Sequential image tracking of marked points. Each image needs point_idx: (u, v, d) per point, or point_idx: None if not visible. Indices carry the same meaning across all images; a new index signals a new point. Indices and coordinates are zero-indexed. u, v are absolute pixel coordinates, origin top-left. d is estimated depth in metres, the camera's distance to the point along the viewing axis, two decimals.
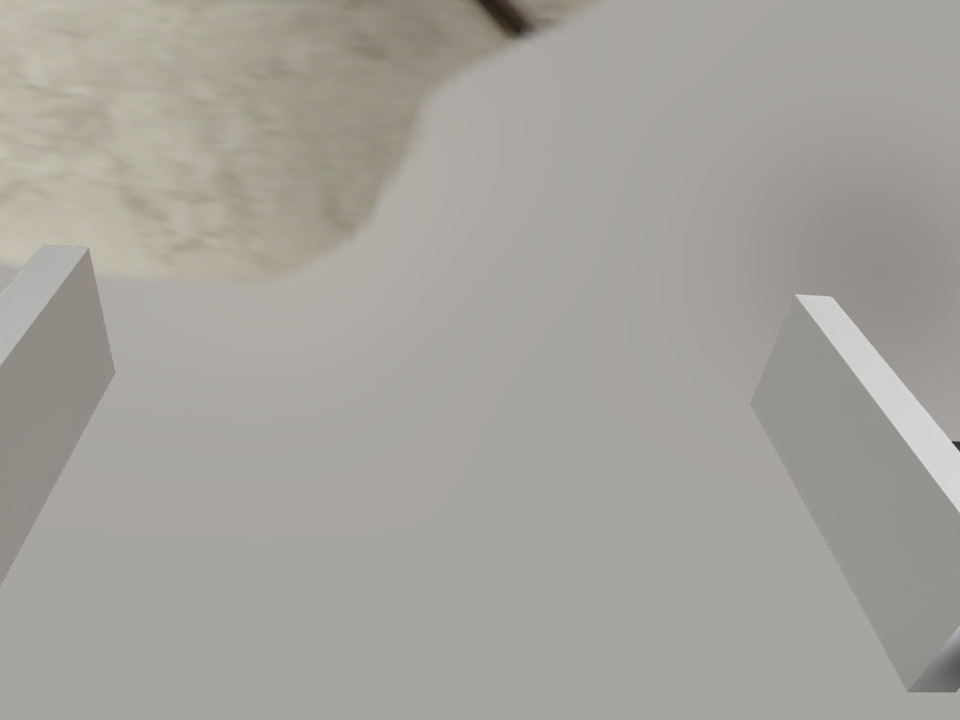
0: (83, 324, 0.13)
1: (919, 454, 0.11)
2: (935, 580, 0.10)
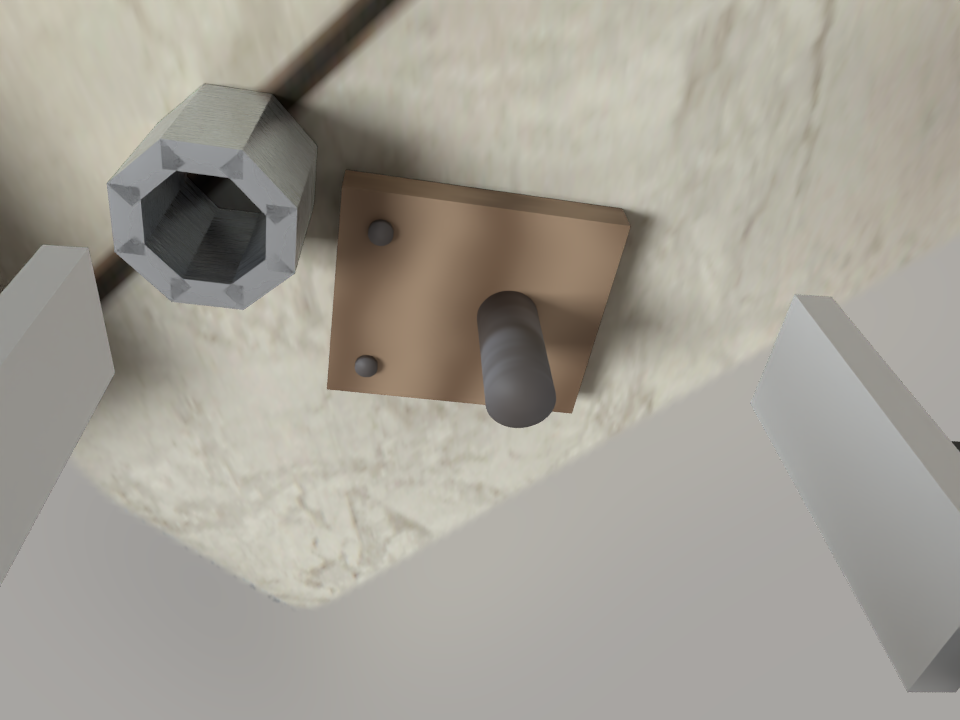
0: (83, 324, 0.13)
1: (919, 454, 0.11)
2: (935, 580, 0.10)
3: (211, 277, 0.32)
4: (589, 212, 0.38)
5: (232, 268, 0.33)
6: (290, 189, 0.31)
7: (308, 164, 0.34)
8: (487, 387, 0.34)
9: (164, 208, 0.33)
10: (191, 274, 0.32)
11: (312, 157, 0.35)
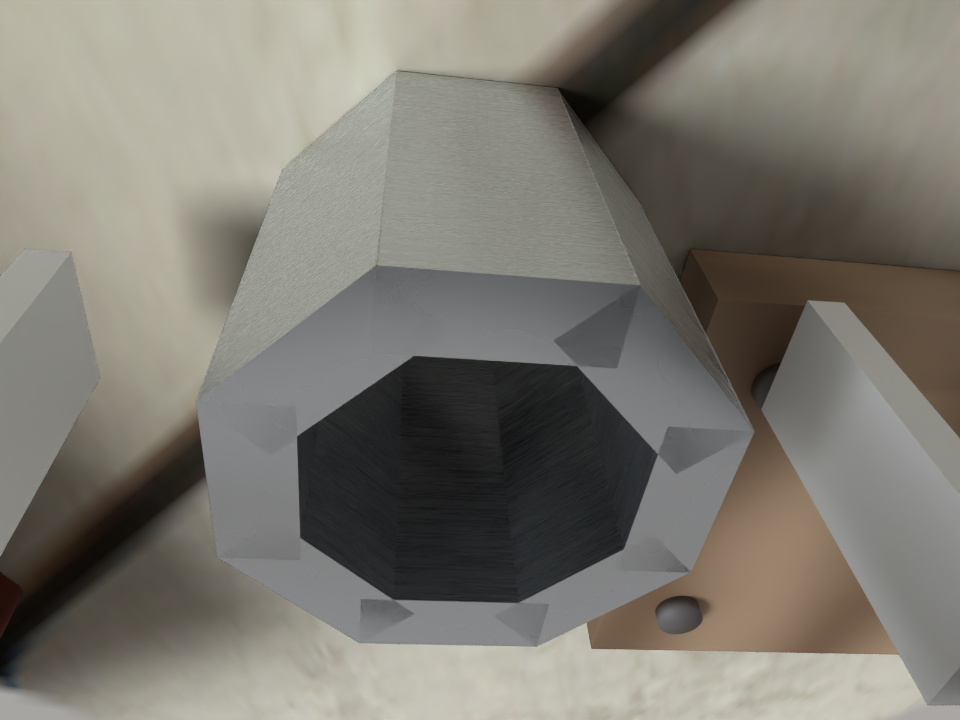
0: (66, 329, 0.13)
1: (939, 464, 0.11)
2: (956, 592, 0.10)
3: (462, 584, 0.12)
4: None
5: (499, 536, 0.13)
6: (715, 367, 0.11)
7: (667, 261, 0.14)
8: None
9: None
10: (411, 577, 0.12)
11: (655, 236, 0.14)
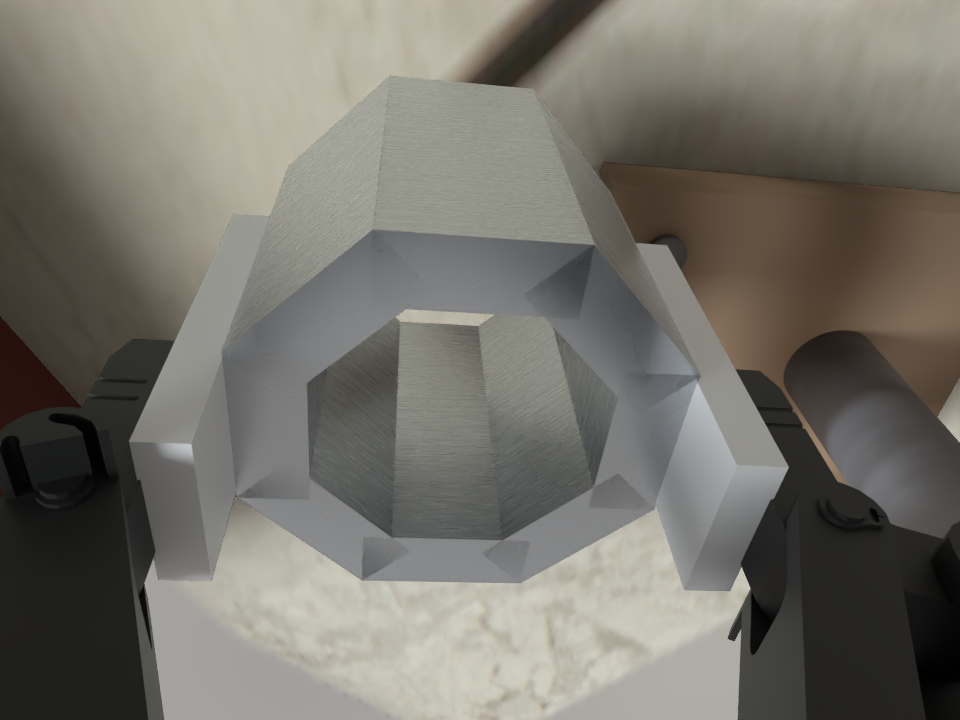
0: None
1: None
2: (701, 484, 0.12)
3: (452, 525, 0.14)
4: None
5: (485, 486, 0.15)
6: (667, 323, 0.12)
7: (632, 240, 0.15)
8: (885, 495, 0.21)
9: None
10: (407, 519, 0.14)
11: (623, 220, 0.16)
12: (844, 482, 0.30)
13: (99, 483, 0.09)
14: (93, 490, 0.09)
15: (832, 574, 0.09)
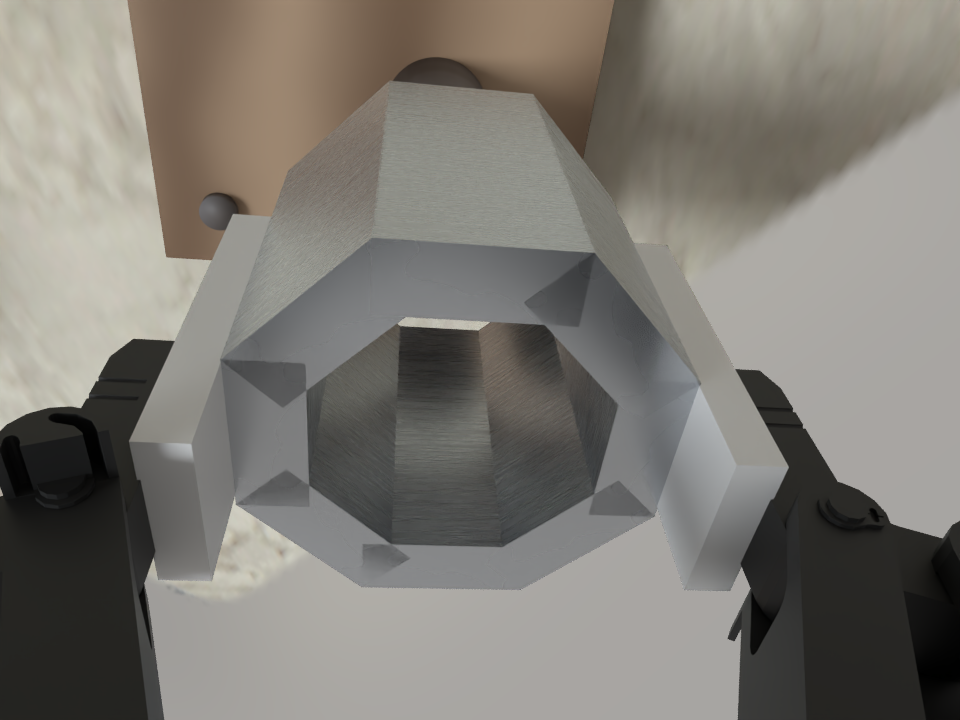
0: None
1: (698, 374, 0.12)
2: (701, 484, 0.12)
3: (452, 531, 0.14)
4: None
5: (485, 492, 0.15)
6: (668, 330, 0.12)
7: (632, 245, 0.15)
8: None
9: None
10: (406, 526, 0.14)
11: (623, 225, 0.16)
12: None
13: (99, 483, 0.09)
14: (93, 490, 0.09)
15: (832, 574, 0.09)
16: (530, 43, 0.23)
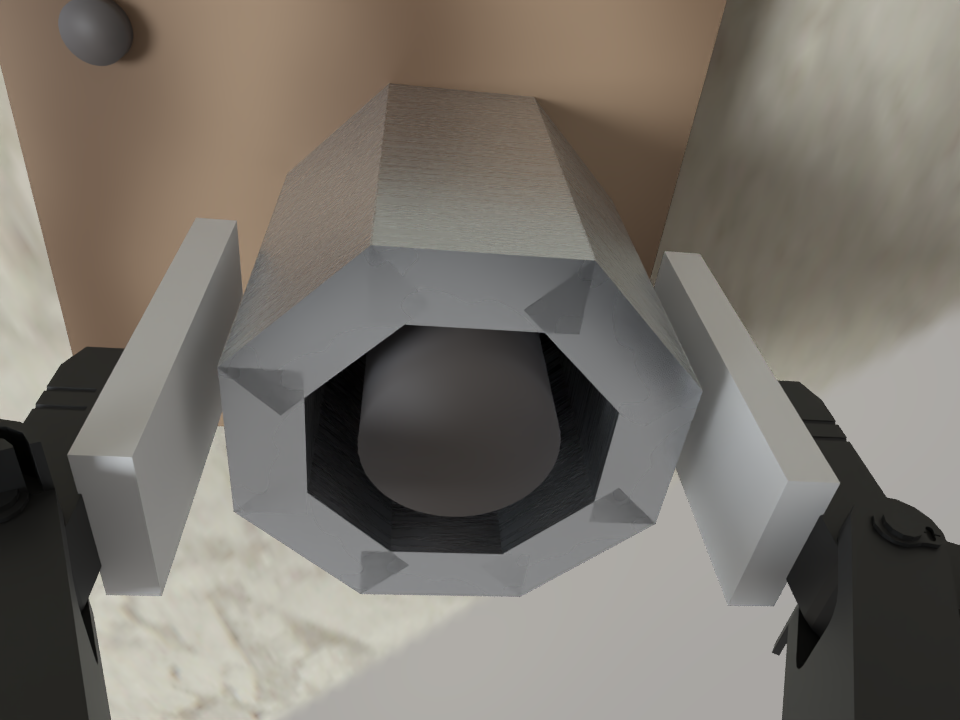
0: (232, 289, 0.14)
1: (741, 386, 0.12)
2: (746, 499, 0.11)
3: (451, 538, 0.14)
4: None
5: None
6: (669, 337, 0.12)
7: (634, 250, 0.15)
8: (361, 414, 0.12)
9: None
10: (406, 533, 0.14)
11: (624, 229, 0.16)
12: None
13: (34, 497, 0.09)
14: (27, 504, 0.09)
15: (885, 591, 0.09)
16: None
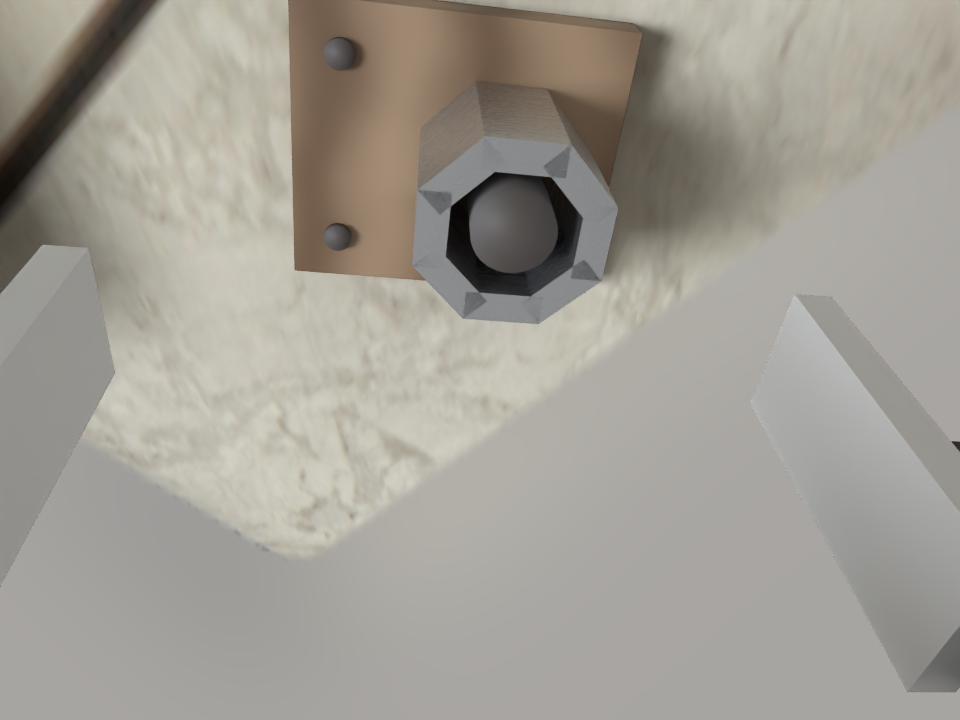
0: (83, 324, 0.13)
1: (919, 454, 0.11)
2: (935, 580, 0.10)
3: (506, 290, 0.29)
4: (591, 22, 0.31)
5: (521, 279, 0.30)
6: (605, 187, 0.28)
7: (595, 162, 0.31)
8: (471, 218, 0.28)
9: None
10: (485, 287, 0.29)
11: (591, 155, 0.32)
12: None
13: None
14: None
15: None
16: None
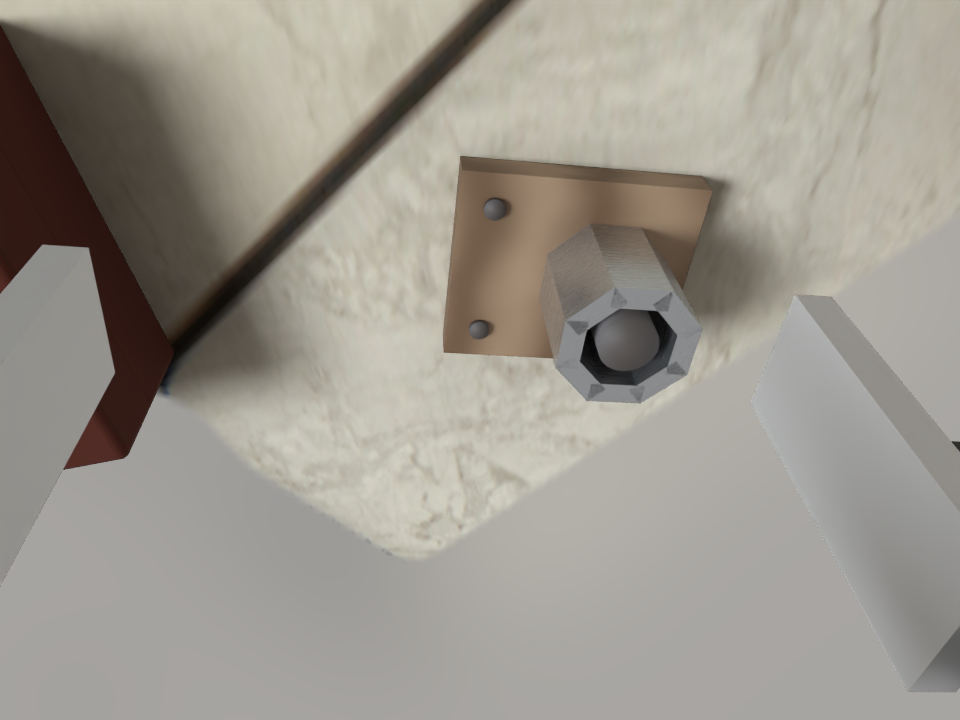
0: (83, 324, 0.13)
1: (919, 454, 0.11)
2: (935, 580, 0.10)
3: (618, 381, 0.41)
4: (674, 180, 0.43)
5: None
6: (692, 312, 0.40)
7: (678, 283, 0.43)
8: (599, 336, 0.40)
9: None
10: (603, 379, 0.41)
11: None
12: None
13: None
14: None
15: None
16: (656, 247, 0.44)
